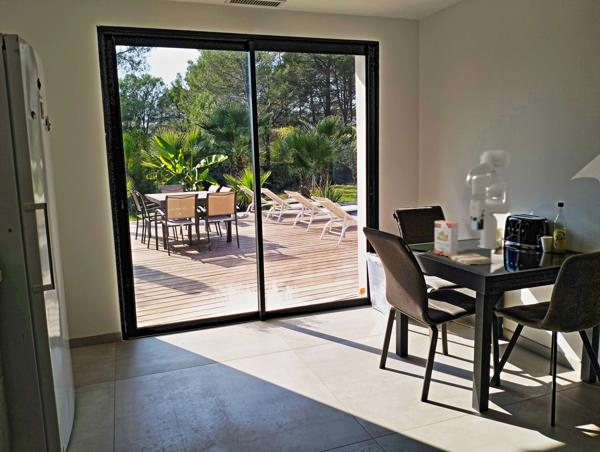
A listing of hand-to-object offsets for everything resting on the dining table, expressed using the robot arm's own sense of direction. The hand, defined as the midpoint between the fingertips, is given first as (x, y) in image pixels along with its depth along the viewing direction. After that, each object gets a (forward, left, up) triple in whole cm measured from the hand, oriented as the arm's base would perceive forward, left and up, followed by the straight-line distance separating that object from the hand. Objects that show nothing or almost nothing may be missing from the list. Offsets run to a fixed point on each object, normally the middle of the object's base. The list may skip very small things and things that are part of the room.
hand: (477, 228), depth 280 cm
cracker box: (-14, -12, -18) cm, 26 cm away
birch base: (+4, -7, -18) cm, 20 cm away
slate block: (0, 0, -1) cm, 1 cm away
